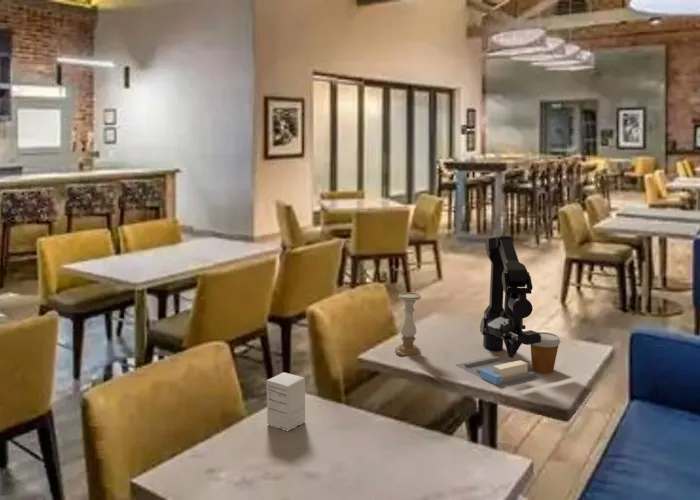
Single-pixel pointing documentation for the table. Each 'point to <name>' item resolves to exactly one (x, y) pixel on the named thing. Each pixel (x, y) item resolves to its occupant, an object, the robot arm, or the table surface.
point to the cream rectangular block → (510, 369)
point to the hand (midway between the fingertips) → (511, 357)
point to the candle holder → (408, 326)
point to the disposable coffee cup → (544, 353)
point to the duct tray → (474, 371)
